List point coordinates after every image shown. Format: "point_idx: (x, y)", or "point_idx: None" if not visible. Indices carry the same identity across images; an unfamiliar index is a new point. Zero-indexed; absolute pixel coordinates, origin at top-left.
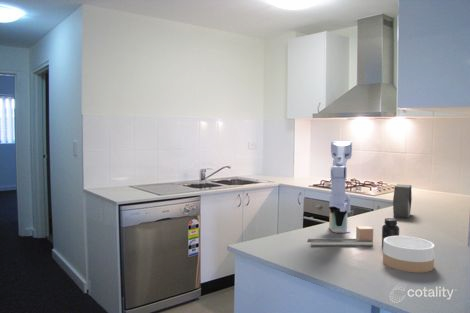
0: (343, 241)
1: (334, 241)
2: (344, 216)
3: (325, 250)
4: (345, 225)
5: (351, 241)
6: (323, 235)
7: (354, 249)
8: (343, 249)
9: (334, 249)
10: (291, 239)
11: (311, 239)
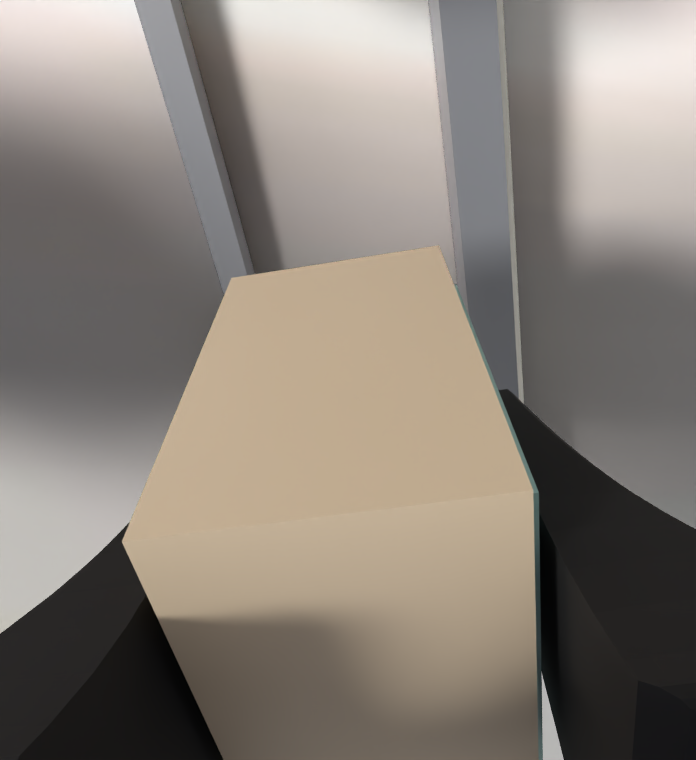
0: (508, 230)
1: (517, 363)
2: (533, 488)
3: (678, 439)
4: (454, 295)
5: (501, 83)
6: (11, 425)
7: (665, 43)
8: (654, 224)
9: (646, 340)
10: None
11: None
